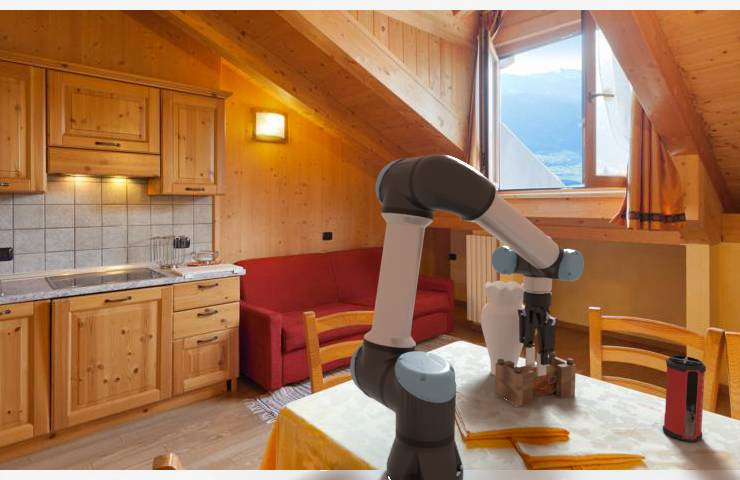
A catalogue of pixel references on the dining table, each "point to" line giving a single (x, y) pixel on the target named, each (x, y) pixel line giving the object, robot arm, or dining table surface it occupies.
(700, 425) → the speaker
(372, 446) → the dining table surface
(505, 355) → the vase
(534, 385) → the tin
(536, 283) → the robot arm
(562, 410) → the dining table surface
